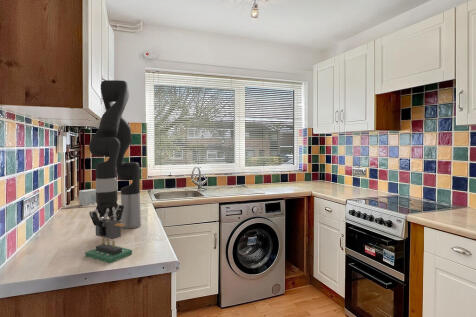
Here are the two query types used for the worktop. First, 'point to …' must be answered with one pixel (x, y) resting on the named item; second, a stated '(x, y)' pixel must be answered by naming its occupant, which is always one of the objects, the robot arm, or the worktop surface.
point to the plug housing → (111, 229)
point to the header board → (108, 258)
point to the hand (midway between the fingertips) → (108, 234)
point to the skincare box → (87, 197)
